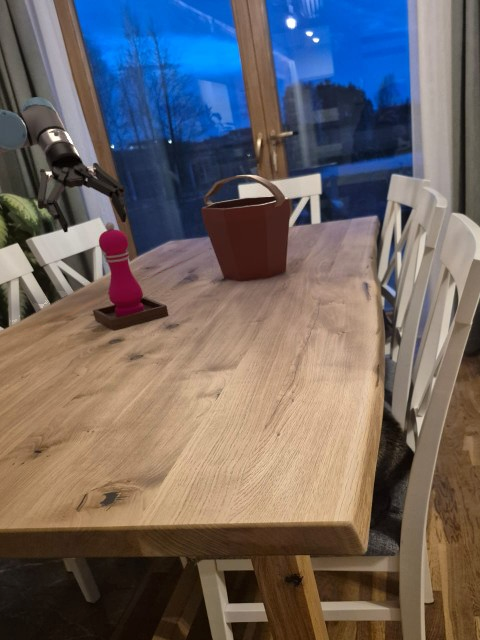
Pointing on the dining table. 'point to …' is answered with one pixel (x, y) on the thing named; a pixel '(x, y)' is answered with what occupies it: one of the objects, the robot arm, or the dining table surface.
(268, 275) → the bucket
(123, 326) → the base tray
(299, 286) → the dining table surface
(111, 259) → the pepper mill
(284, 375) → the dining table surface
